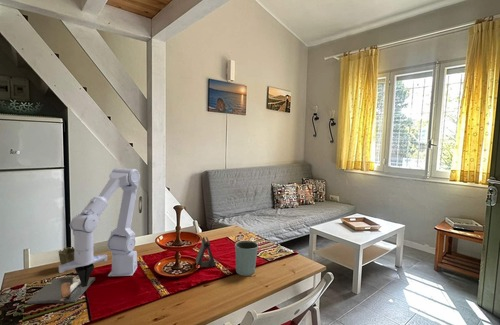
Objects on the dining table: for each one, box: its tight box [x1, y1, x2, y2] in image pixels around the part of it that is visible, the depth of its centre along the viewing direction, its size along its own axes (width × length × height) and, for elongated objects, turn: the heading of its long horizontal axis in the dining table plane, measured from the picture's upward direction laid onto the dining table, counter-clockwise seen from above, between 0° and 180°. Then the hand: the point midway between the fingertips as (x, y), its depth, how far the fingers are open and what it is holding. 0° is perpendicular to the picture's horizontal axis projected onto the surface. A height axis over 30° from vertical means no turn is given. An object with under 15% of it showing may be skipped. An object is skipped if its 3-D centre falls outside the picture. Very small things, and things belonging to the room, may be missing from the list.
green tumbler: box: [234, 240, 259, 276], centre depth 117 cm, size 10×10×12 cm
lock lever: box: [61, 275, 81, 297], centre depth 96 cm, size 4×12×4 cm, turn 8°
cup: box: [57, 246, 74, 265], centre depth 114 cm, size 8×7×8 cm
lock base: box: [26, 276, 96, 305], centre depth 97 cm, size 16×16×1 cm
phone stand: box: [195, 236, 217, 269], centre depth 122 cm, size 9×6×12 cm, turn 107°
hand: (84, 285), depth 94 cm, fingers closed
